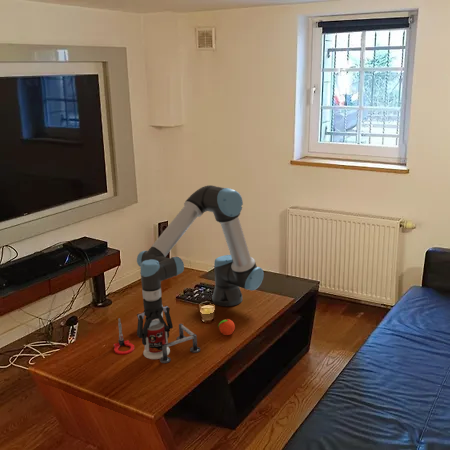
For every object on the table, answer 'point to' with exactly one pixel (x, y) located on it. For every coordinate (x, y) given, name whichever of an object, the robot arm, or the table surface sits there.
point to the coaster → (155, 354)
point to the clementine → (226, 327)
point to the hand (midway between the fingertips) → (156, 347)
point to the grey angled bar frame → (180, 339)
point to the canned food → (156, 336)
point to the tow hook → (122, 342)
